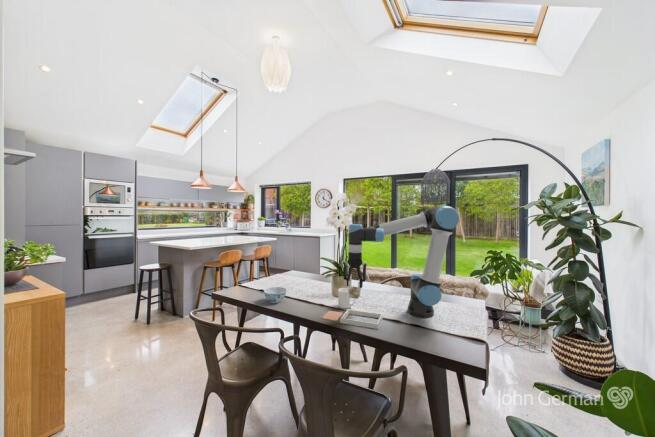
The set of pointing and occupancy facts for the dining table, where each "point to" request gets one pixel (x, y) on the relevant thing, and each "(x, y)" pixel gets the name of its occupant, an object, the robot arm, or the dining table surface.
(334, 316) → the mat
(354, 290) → the beige round lump
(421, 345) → the dining table surface
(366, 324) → the bin
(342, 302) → the mug
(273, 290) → the chinaware
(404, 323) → the dining table surface
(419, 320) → the dining table surface
